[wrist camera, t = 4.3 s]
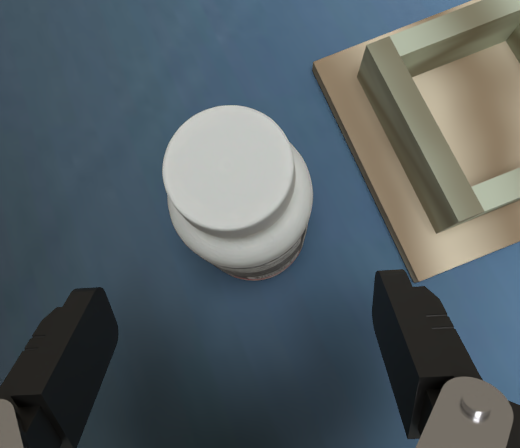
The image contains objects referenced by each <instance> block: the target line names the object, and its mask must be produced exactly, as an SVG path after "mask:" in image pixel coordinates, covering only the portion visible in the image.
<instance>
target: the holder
mask: <svg viewBox="0 0 520 448" xmlns="http://www.w3.org/2000/svg"><path fill="white" fill-rule="evenodd" d="M312 71H313V73H314V75H315V77H316V79H317V81H318V83H319V85H320V88H321V90H322V92H323V94H324V96H325V98H326V100H327V102H328V104H329V106H330V108H331V111H332V113H333V115H334V117H335V119H336V121H337V123H338V125H339V127H340V129H341V131H342V134H343V136H344V138H345V140H346V142H347V144H348V146H349V148H350V150H351V152H352V154H353V157H354V159H355V161H356V163H357V165H358V167H359V169H360V171H361V173H362V175H363V177H364V180H365V182H366V184H367V186H368V188H369V190H370V192H371V194H372V196H373V198H374V200H375V202H376V205H377V207H378V209H379V211H380V213H381V215H382V217H383V219H384V221H385V223H386V225H387V228H388V230H389V232H390V234H391V236H392V238H393V240H394V242H395V244H396V246H397V248H398V251H399V253H400V255H401V257H402V259H403V261H404V263H405V265H406V267H407V269H408V271H409V274H410V276H411V278H412V280H413V282H414V283H416V282H419V281H422V280H424V279H427V278H429V277H432V276H434V275H437V274H439V273H442V272H444V271H447V270H449V269H452V268H454V267H457V266H459V265H462V264H464V263H467V262H469V261H472V260H474V259H477V258H479V257H482V256H484V255H486V254H489V253H491V252H494V251H496V250H499V249H501V248H504V247H506V246H509V245H511V244H514V243H516V242H519V241H520V0H472V1H469V2H467V3H464V4H462V5H459V6H457V7H454V8H451V9H449V10H446V11H444V12H441V13H438V14H436V15H433V16H431V17H428V18H426V19H423V20H420V21H418V22H415V23H413V24H410V25H407V26H405V27H402V28H400V29H397V30H395V31H392V32H389V33H387V34H384V35H382V36H379V37H376V38H374V39H371V40H369V41H366V42H364V43H361V44H358V45H356V46H353V47H351V48H348V49H345V50H343V51H340V52H338V53H335V54H333V55H330V56H327V57H325V58H322V59H320V60H317V61H315V62H313V69H312Z"/></svg>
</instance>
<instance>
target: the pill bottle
mask: <svg viewBox="0 0 520 448" xmlns="http://www.w3.org/2000/svg"><path fill="white" fill-rule="evenodd" d="M162 173H163V181H164V185H165V189H166V192H167V194H168V207H169V213H170V217H171V220H172V223H173V225H174V227H175V230H176V232H177V233H178V235H179V236H180V238H181V239H182V240H183V242H184V243H185V244H186V245H187V246H188V247H189V248H190V249H191V250H192V251H193V252H194V253H196V254H197V255H199V256H200V257H201V258H203V259H205V260H206V261H208V262H210V263H211V264H213V265H214V266H216V267H217V268H219V269H220V270H222V271H223V272H225V273H227V274H229V275H231V276H233V277H236V278H239V279H243V280H252V281H257V280H264V279H268V278H271V277H274V276H276V275H278V274H280V273H281V272H283V271H284V270H285V269H287V268H288V267H289V266H290V265H291V264H292V263H293V262H294V260H295V259H296V258H297V256H298V254H299V253H300V251H301V249H302V246H303V242H304V238H305V235H306V231H307V226H308V221H309V218H310V214H311V210H312V203H313V189H312V182H311V178H310V174H309V171H308V168H307V166H306V164H305V162H304V160H303V158H302V157H301V155H300V154H299V152H298V151H297V150H296V149H295V148H294V146H293V145H292V144H291V143H289V141H288V139H287V137H286V135H285V134H284V132H283V131H282V130H281V128H280V127H279V126H278V125H277V124H276V123H275V122H274V121H273V120H272V119H271V118H269V117H268V116H266V115H265V114H263V113H261V112H259V111H257V110H254V109H251V108H248V107H243V106H236V105H226V106H217V107H214V108H210V109H207V110H205V111H202V112H200V113H198V114H196V115H194V116H193V117H191V118H190V119H189V120H187V121H186V122H185V123H184V124H183V125H182V126H181V127H180V128H179V129H178V130H177V131H176V133H175V134H174V136H173V137H172V139H171V140H170V142H169V144H168V146H167V149H166V152H165V156H164V159H163V170H162Z"/></svg>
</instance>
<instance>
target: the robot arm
mask: <svg viewBox="0 0 520 448" xmlns="http://www.w3.org/2000/svg"><path fill="white" fill-rule="evenodd" d="M372 318H373V326H374V331H375V334H376V337H377V341H378V344H379V347H380V350H381V354H382V357H383V360H384V363H385V367H386V370H387V373H388V376H389V380H390V383H391V386H392V390H393V393H394V396H395V399H396V403H397V406H398V409H399V412H400V416H401V419H402V422H403V425H404V429H405V432H406V435H407V438H408V439H419V438H420V439H419V441H418V444H417V446H416V448H520V405H518V404H515V403H513V402H510V401H508V400H507V399H506V397H505V396H504V395H503V394H502V393H501V392H500V391H499V390H498V389H496V388H495V387H494V386H492V385H491V384H489V383H487V382H485V381H483V380H482V378H481V376H480V375H479V373H478V371H477V369H476V367H475V365H474V363H473V362H472V360H471V358H470V356H469V354H468V352H467V350H466V348H465V346H464V345H463V343H462V341H461V339H460V337H459V335H458V333H457V331H456V329H454V326H453V324H452V322H451V320H450V318H449V317H447V313H446V311H445V309H444V307H443V305H442V303H441V301H440V299H439V298H438V297H437V296H435V295H434V294H433V293H432V292H431V291H430V290H428V289H427V288H426V287H425V286H422V287H412V285H411V282H410V280H409V278H408V276H407V274H406V272H405V271H404V270H403V269H401V270H384V271H377V272H376V274H375V283H374V295H373V306H372ZM32 336H33V338H32V339H30V340H29V342H28V343H27V345H26V347H25V351H22V353H21V355H20V356H19V358H18V359H17V361H16V363H15V364H14V366H13V367H12V369H11V371H10V372H9V374H8V375H7V377H6V378H5V380H4V382H3V383H2V385H1V386H0V448H77V445H78V443H79V440H80V437H81V435H82V432H83V430H84V427H85V425H86V422H87V419H88V417H89V414H90V412H91V409H92V407H93V404H94V401H95V399H96V396H97V394H98V391H99V389H100V386H101V383H102V381H103V378H104V376H105V373H106V371H107V368H108V365H109V363H110V360H111V358H112V355H113V353H114V350H115V347H116V345H117V341H118V325H117V322H116V319H115V317H114V314H113V311H112V309H111V306H110V303H109V301H108V298H107V296H106V293H105V291H104V289H103V288H101V287H96V288H80V289H74V290H73V291H72V292H71V293H70V295H69V297H68V299H67V300H66V302H65V304H64V305H63V307H57V308H55V309H54V310H53V311H52V312H51V313H50V314H49V315H48V316H47V317H45V318H44V319H43V320H42V321H41V323H40V324H39V326H38V327H37V329H36V331H35V332H34V334H33V335H32Z"/></svg>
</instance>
